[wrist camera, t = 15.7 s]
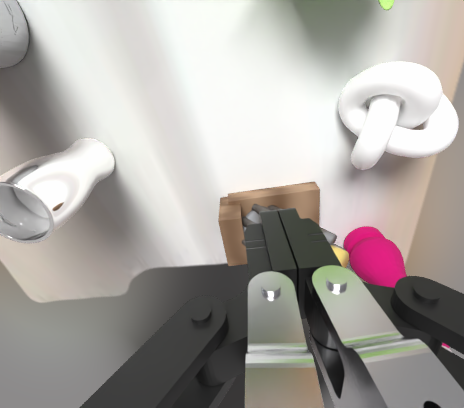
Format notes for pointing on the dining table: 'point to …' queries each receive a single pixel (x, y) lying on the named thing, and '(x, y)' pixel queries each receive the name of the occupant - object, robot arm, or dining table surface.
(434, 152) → the white knot
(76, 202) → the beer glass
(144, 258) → the dining table surface
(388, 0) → the kettle
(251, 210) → the knife block
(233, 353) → the robot arm
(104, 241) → the dining table surface
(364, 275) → the pepper mill
